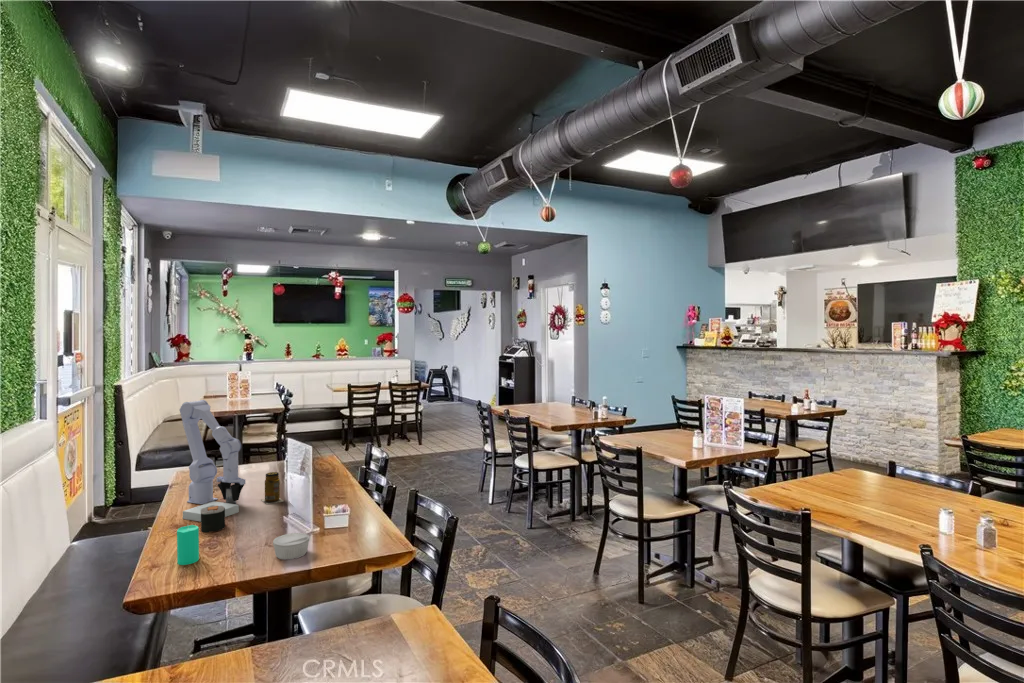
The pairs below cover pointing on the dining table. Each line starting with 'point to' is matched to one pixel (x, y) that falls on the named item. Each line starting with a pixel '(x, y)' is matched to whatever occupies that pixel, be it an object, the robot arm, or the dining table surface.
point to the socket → (195, 512)
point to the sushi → (212, 519)
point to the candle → (187, 545)
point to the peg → (229, 496)
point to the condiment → (272, 488)
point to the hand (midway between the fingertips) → (231, 499)
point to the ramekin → (291, 545)
